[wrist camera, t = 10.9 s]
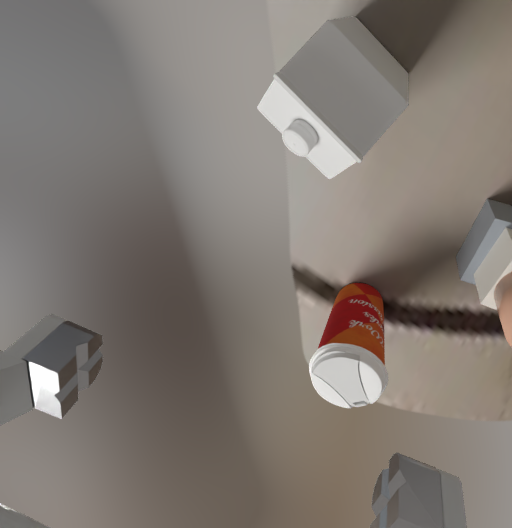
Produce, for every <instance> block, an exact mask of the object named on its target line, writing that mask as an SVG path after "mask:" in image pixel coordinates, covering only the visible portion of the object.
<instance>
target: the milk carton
mask: <svg viewBox="0 0 512 528" xmlns="http://www.w3.org/2000/svg"><path fill="white" fill-rule="evenodd" d="M273 77H274V80H273V82H272V83H271V85H270V87H269V88H268V90H267V92H266V93H265V95H264V97H263V98H262V100H261V102H260V103H259V105H258V107H257V108H258V110H259V111H260V112H261V113H262V114H263V115H264V116H265V117H266V118H267V119H268V120H269V121H270V122H271V123H272V124H273V125H274V126H275V127H276V128H277V129H278V130H279V131H280V132H281V133H282V139H283V142H284V144H285V145H286V146H287V148H288V149H289V150H290V151H292V152H293V153H294V154H296V155H298V156H305V157H306V158H307V159H308V160H309V161H310V162H311V163H312V164H313V165H314V166H315V167H316V168H317V169H319V170H320V171H321V172H322V173H323V174H324V175H325V176H326V177H327V178H328V179H331V178H333V177H334V176H336V175H337V174H339V173H340V172H342V171H343V170H345V169H346V168H348V167H349V166H351V165H352V164H354V163H355V162H358V163H361V162H362V159H363V156H364V155H365V154H366V153H367V152H368V151H369V150H370V148H371V147H372V146H373V145H374V144H375V143H376V142H377V140H378V139H379V138H380V137H381V136H382V135H383V134H384V133H385V131H386V130H387V129H388V128H389V127H390V126H391V125H392V123H393V122H394V121H395V120H396V119H397V118H398V117H399V116H400V114H401V113H402V112H403V111H404V110H405V109H406V108H407V106H408V105H409V104H408V73H407V71H406V70H405V69H404V68H403V67H402V66H401V65H400V64H399V63H398V62H397V60H396V59H395V58H394V57H393V56H392V55H391V54H390V53H389V52H388V51H387V50H386V49H385V48H384V47H383V45H382V44H381V43H380V42H379V41H378V40H377V39H376V38H375V37H374V36H373V35H372V34H371V33H370V32H369V30H368V29H367V28H366V27H365V26H364V25H363V24H362V23H361V22H360V21H359V20H358V19H357V18H356V17H347V18H340V19H333V20H327V21H326V22H325V23H324V24H323V26H322V27H321V28H320V29H319V30H318V31H317V32H316V33H315V34H314V35H313V36H312V37H311V38H310V39H309V40H308V41H307V42H306V44H305V45H304V46H303V47H302V48H301V49H300V50H299V51H298V52H297V53H296V54H295V55H294V56H293V57H292V58H291V59H290V61H289V62H288V63H287V64H286V65H285V66H284V67H283V68H282V69H281V70H280V71H279V72H277V73H275V74H274V75H273Z"/></svg>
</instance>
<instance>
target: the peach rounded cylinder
mask: <svg viewBox="0 0 512 528" xmlns="http://www.w3.org/2000/svg"><path fill="white" fill-rule="evenodd" d="M494 300H495V304H496V307H497V310H498V314H499V317H500V321H501V324H502V327H503V331H504V334H505V337H506V340H507V342H508V343H509V345H510V346H511V347H512V272H510V273H508V274H507V275H505V276H504V277H503V278H502V279H501V280H500V281H499V282H498V284H497V285H496V287H495V290H494Z"/></svg>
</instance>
